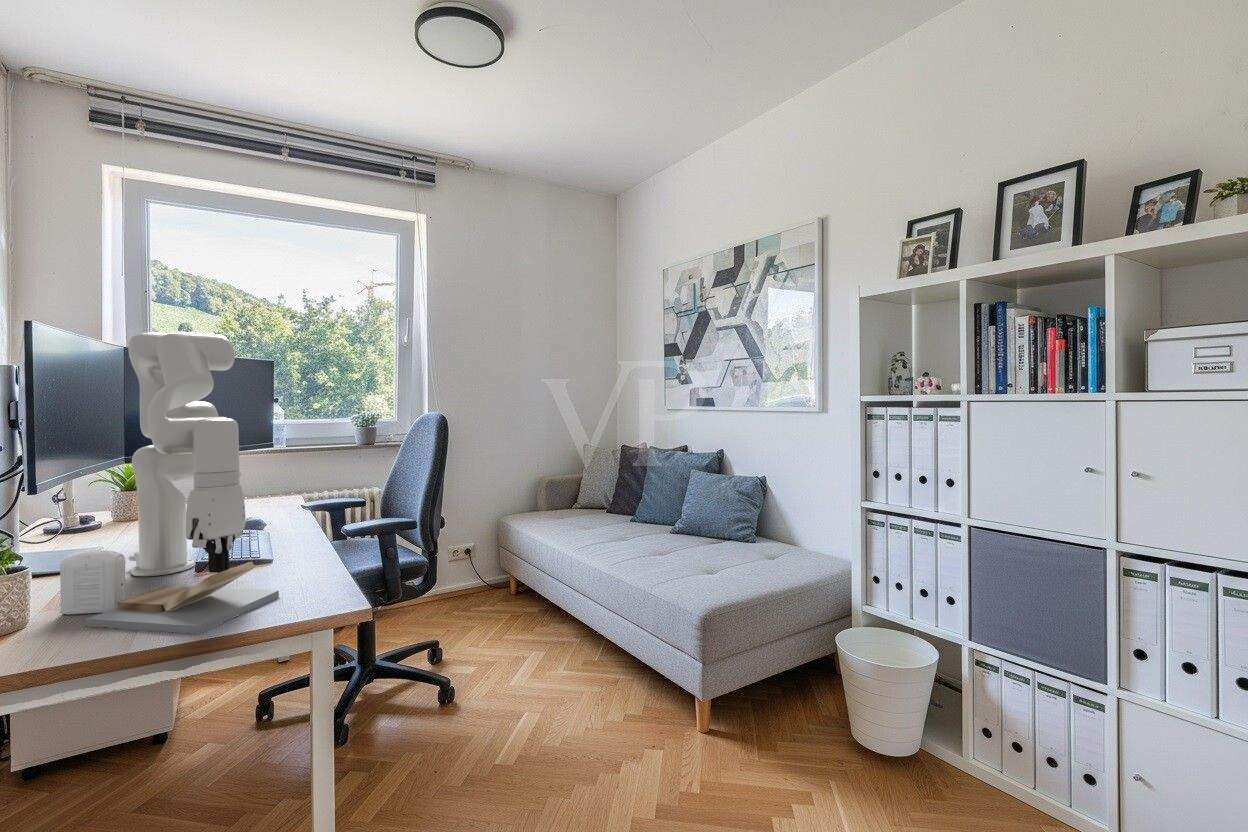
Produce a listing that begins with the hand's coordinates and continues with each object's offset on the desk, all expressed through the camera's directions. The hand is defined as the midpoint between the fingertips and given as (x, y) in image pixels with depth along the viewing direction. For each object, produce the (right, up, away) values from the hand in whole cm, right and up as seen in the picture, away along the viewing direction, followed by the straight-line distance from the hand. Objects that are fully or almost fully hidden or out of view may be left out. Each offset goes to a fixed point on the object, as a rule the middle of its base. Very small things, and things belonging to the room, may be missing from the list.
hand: (219, 571), depth 116 cm
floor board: (-7, -8, +1) cm, 11 cm away
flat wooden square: (-13, -7, +2) cm, 15 cm away
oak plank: (-2, -4, 0) cm, 4 cm away
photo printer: (-26, -9, +1) cm, 28 cm away
